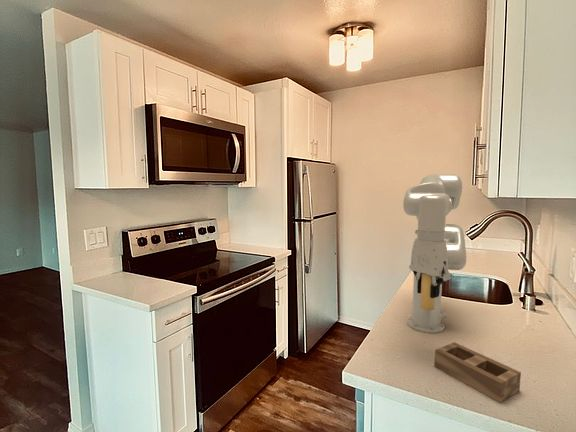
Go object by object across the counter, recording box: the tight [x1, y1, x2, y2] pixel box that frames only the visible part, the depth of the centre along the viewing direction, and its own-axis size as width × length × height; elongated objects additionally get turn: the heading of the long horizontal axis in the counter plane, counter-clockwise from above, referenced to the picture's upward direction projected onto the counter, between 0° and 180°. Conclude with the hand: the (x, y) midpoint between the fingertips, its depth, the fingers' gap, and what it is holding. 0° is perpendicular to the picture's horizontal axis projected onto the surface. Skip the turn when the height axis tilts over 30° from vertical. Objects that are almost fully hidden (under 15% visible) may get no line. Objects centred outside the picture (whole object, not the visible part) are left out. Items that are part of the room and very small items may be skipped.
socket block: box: [433, 341, 522, 403], centre depth 89 cm, size 9×18×5 cm, turn 30°
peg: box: [420, 273, 435, 310], centre depth 101 cm, size 4×4×12 cm
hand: (427, 294), depth 101 cm, fingers closed on peg, 4 cm apart
